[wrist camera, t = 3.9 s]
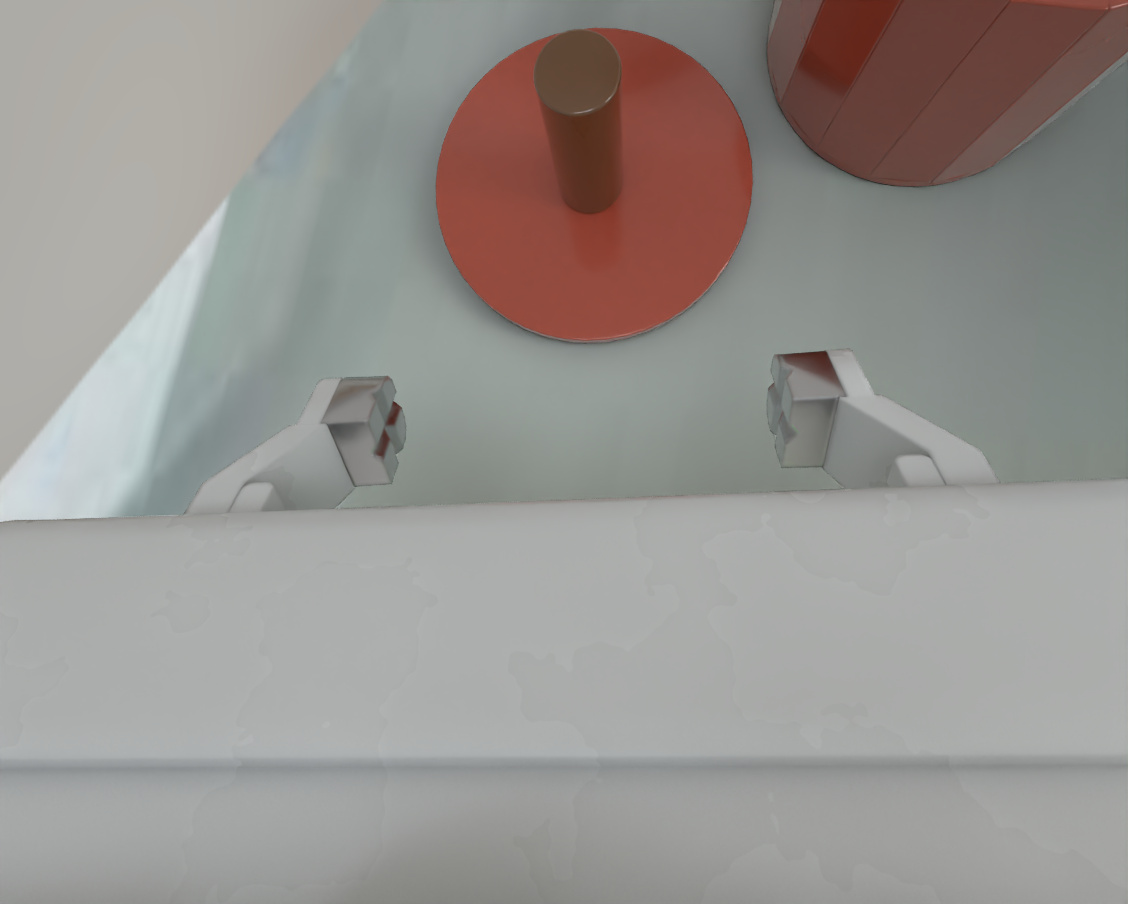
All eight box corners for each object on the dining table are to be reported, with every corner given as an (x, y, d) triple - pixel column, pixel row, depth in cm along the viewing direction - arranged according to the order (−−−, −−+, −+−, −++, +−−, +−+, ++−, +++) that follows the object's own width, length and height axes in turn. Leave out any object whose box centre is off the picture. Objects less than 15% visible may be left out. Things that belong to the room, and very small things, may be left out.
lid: (626, -15, 29) (627, -229, 20) (811, 222, 27) (896, 105, 19) (386, 169, 29) (285, 39, 21) (557, 406, 28) (526, 376, 20)
